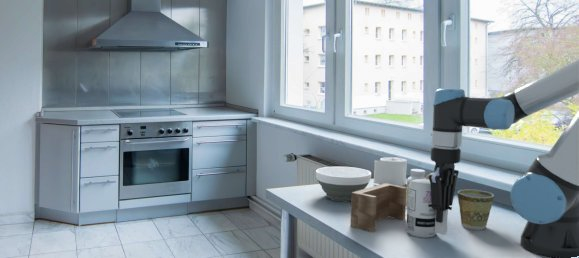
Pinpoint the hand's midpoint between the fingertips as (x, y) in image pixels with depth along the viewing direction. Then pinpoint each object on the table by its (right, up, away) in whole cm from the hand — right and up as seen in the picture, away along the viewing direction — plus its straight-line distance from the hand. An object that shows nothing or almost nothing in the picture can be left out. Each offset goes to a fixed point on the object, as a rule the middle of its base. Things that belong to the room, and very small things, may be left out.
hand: (440, 232), depth 134 cm
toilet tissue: (0, +6, +66) cm, 67 cm away
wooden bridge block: (-14, 0, +13) cm, 20 cm away
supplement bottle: (+1, +2, +30) cm, 30 cm away
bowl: (-22, +3, +42) cm, 48 cm away
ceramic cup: (+14, -1, +13) cm, 19 cm away
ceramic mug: (+17, +4, +55) cm, 58 cm away
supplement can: (-4, -1, +4) cm, 6 cm away
